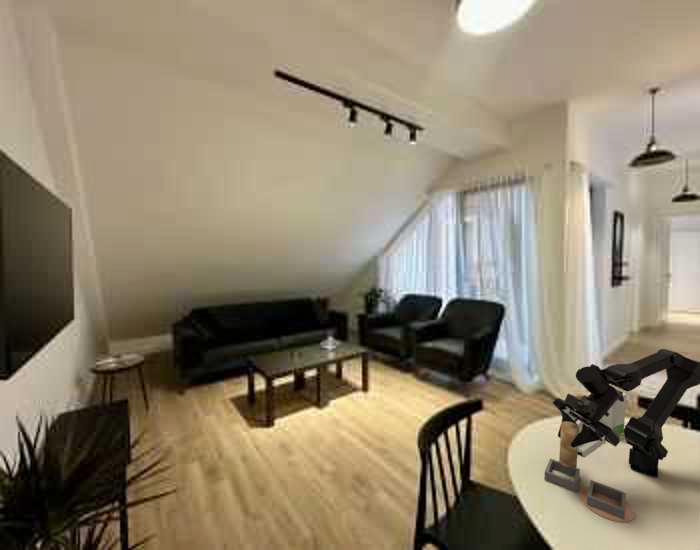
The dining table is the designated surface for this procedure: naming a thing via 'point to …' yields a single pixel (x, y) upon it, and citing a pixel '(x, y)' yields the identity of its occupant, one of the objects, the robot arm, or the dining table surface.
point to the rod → (568, 444)
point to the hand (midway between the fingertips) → (565, 441)
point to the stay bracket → (607, 502)
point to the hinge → (590, 446)
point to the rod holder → (559, 479)
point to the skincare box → (616, 416)
